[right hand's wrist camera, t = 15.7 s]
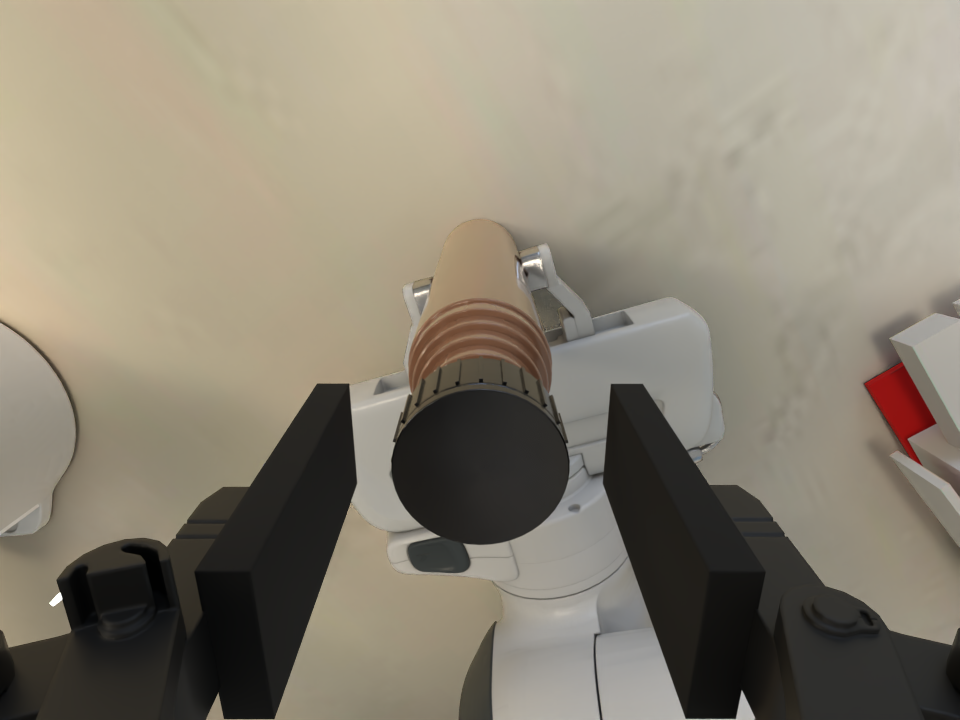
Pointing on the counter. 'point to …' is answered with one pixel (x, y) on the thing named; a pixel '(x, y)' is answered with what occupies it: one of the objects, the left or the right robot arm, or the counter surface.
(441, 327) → the bottle
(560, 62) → the counter surface
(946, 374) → the toy
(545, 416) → the cap
